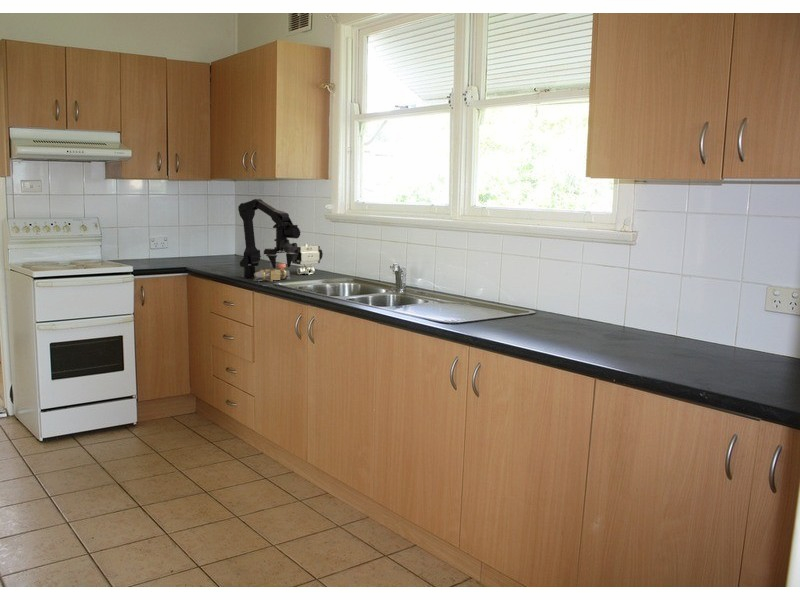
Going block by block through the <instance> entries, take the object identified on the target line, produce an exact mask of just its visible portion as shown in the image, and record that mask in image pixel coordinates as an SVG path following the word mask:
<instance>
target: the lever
mask: <svg viewBox="0 0 800 600" xmlns="http://www.w3.org/2000/svg"><path fill="white" fill-rule="evenodd" d="M268 264H269V265H268V266H269V269H270V270H275V269H283V268H284V269H286V268H287V266H286V265H287V263H283V262H277V263H276V268H273V266H272V264H271V262H270V263H268Z"/></svg>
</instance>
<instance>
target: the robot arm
mask: <svg viewBox="0 0 800 600" xmlns="http://www.w3.org/2000/svg"><path fill="white" fill-rule="evenodd" d="M237 210H238V213H239V217H240V218H241V219H242V222H243V223H242V224H243V232H244V241H245V249H244V250H243V251H244V252H243V258H242V259H241V260H240V261H239V265H240V267H241V268H242V269H243V270H242V271H243V275H242V276H240V277H241V278H242V279H247V280H248V279H249V278H250V279H255V278H254V273H255V272H256V267H259V263H260V261H261V258H262V256H261V250H260V249H258V248H257V247H256V237H255V231H254V229H255V227H254V220H253V219H254V217H255V215H256V211H257V210H259V211H261V212H262V213H265V215H267V216H269V217H270V218H271V220H272V222H273V223H275V224H274V225H273V226H272V228H273V229H275V238H274V242H275V247H274V248H271V247H270V248H264V249H263V255H265V256H266V257H267V258H268V259H269V262H270V263H271V264H272V266H273V268H275V269H277V266H276V264H277V257H278V255H277V254H281V253H285V256H286V258H285V259H286V265H287V266H286V267H287V268H290V267H291V264H292V259H293V257H294V256H295V255H297V254H295V253H299V249H298V248H297V246H298V243H297V242H293V243H290V240H289V239H296V240H297V239H299V238H300V236H301V229H300V228H299V227H298V224H294V223H293V222H292V220H291V218H290V216H289V213H288V212H286V211H283V210H278V209H277V208H274V207H273V206H272V205H270V204H268V203H266V202H265V201H264V200H262V199H261V198H253V199H252V200H250V201H247V202H241V203H240V204H239V205H238V207H237Z"/></svg>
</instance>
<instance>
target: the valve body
mask: <svg viewBox="0 0 800 600" xmlns="http://www.w3.org/2000/svg"><path fill="white" fill-rule="evenodd" d="M290 274H291V273H290V270H289V269H286V268H283V269H280V268H278V269H277V268H275V270H270V269H260V270H258V271H257V272H256V271H255V273H254V278H253V282H254V281H262V282H263V281H265V280H270V281H269V282H274V281H273V280H280V281H281V280H285V279H289V280H291V276H290Z"/></svg>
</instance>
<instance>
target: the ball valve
mask: <svg viewBox="0 0 800 600" xmlns="http://www.w3.org/2000/svg"><path fill="white" fill-rule="evenodd" d="M297 248H298V249H299V253H295V254H297V255H295V256H294V257H293V259H292V262H291V264H294V265H295V264H296V265H300V267H297V270H296V272H297V274H298V275H300V274H308V275H307V276H311V275H310V274H312V275H313V274H314V273H315V267H313V266H312V264H313V265H314V264H320V263H321V260H322V258H323V254H324V253H323V249H321V246H320V245H314V244H312V245H311V244H309V245H308V242H304V245H297Z"/></svg>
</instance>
